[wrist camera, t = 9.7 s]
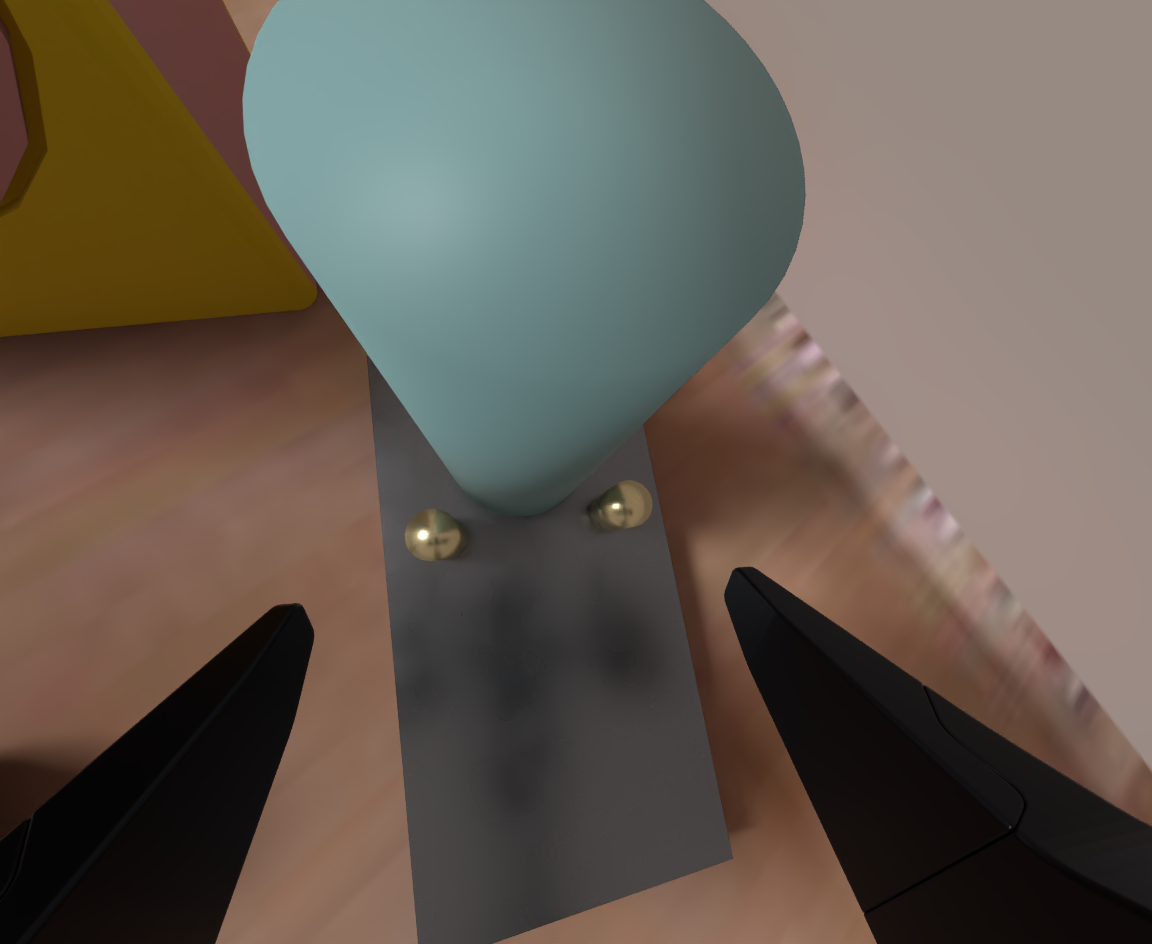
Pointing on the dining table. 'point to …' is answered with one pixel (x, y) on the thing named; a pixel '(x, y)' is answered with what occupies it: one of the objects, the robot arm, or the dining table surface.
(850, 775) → the robot arm
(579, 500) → the plate
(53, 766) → the dining table surface
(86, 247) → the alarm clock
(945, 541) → the dining table surface
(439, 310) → the teal rounded cylinder
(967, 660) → the dining table surface
